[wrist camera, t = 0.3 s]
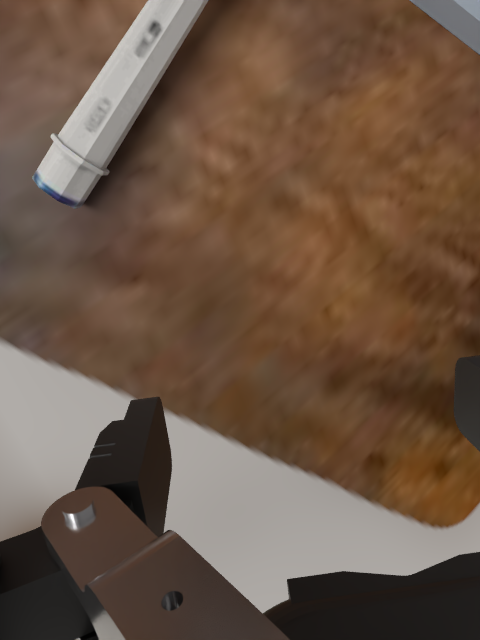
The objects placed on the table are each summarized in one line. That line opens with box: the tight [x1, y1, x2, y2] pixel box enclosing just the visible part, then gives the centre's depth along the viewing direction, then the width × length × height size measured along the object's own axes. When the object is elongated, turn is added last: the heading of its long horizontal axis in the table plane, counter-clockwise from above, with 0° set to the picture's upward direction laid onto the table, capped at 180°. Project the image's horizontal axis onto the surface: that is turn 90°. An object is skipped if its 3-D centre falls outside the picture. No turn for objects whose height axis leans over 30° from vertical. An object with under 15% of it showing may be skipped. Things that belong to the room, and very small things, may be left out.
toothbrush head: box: [32, 0, 209, 209], centre depth 33 cm, size 5×7×25 cm
